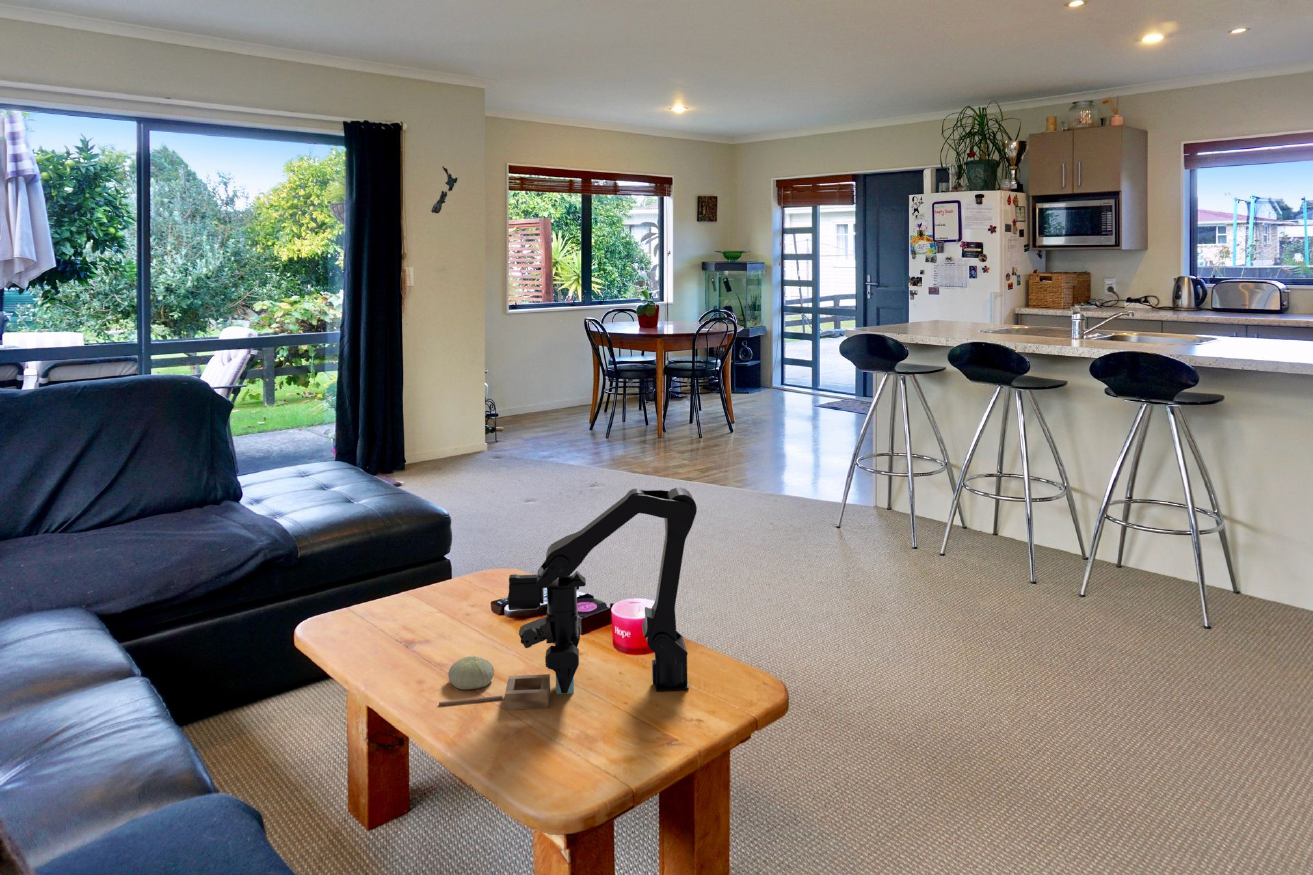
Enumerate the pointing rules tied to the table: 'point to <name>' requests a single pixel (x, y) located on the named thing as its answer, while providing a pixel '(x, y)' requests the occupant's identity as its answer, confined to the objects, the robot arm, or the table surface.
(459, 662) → the sea urchin shell
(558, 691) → the teal rectangular block
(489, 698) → the brown wooden rod
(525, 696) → the wooden socket block
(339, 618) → the table surface
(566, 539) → the robot arm
